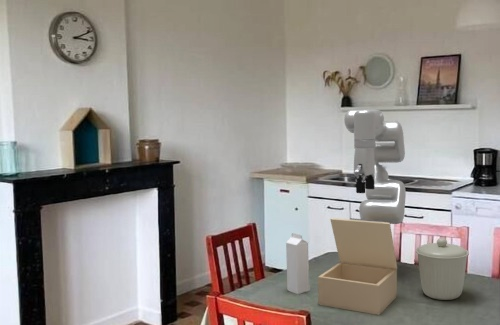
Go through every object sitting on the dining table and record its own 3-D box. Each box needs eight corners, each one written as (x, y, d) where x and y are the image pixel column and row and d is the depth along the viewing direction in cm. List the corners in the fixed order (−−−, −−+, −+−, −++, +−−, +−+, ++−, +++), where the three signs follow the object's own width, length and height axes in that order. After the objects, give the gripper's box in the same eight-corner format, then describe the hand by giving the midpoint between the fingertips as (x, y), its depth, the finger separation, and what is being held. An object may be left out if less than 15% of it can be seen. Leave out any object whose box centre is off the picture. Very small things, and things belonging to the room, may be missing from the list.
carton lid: (339, 262, 210) (345, 251, 215) (396, 269, 198) (401, 258, 203) (330, 219, 201) (336, 209, 206) (389, 224, 190) (394, 213, 194)
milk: (297, 294, 205) (296, 236, 203) (287, 290, 210) (285, 234, 208) (309, 290, 209) (308, 234, 206) (299, 287, 214) (297, 231, 211)
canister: (434, 307, 188) (434, 246, 186) (406, 290, 205) (405, 235, 203) (479, 300, 192) (480, 241, 190) (448, 285, 210) (448, 230, 208)
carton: (340, 287, 211) (339, 262, 210) (397, 296, 199) (396, 269, 198) (318, 304, 194) (317, 276, 193) (379, 314, 182) (378, 285, 181)
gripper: (363, 142, 208) (363, 187, 210) (346, 146, 194) (346, 194, 195) (382, 142, 204) (383, 188, 206) (366, 146, 190) (367, 195, 191)
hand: (365, 191), depth 201 cm, fingers open, 9 cm apart
